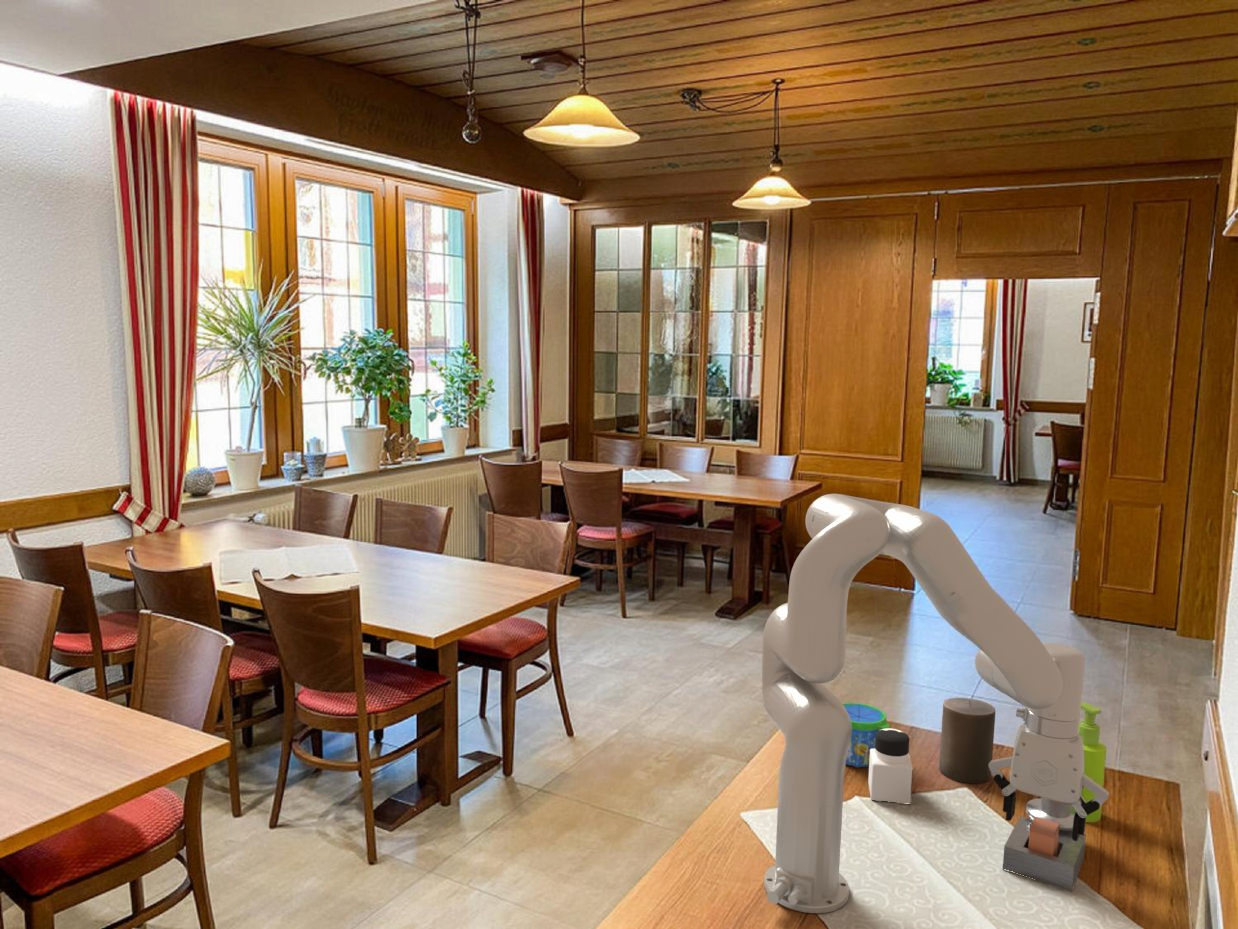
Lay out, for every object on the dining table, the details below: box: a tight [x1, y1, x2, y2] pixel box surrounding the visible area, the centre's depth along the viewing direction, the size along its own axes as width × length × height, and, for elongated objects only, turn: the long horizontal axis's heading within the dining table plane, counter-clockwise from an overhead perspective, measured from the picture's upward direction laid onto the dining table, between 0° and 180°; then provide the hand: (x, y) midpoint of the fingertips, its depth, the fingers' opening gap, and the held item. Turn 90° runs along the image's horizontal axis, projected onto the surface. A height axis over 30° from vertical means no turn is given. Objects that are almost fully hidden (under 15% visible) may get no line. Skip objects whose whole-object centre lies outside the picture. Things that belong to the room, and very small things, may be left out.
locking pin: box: [1028, 817, 1059, 857], centre depth 144 cm, size 4×4×8 cm
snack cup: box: [842, 702, 893, 769], centre depth 181 cm, size 16×10×10 cm
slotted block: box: [1002, 797, 1087, 892], centre depth 147 cm, size 18×10×22 cm, turn 145°
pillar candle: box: [938, 697, 996, 784], centre depth 177 cm, size 10×10×15 cm
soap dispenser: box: [1078, 701, 1107, 823], centre depth 161 cm, size 6×7×20 cm
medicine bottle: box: [867, 727, 914, 804], centre depth 167 cm, size 7×7×12 cm
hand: (1042, 827), depth 143 cm, fingers open, 9 cm apart
